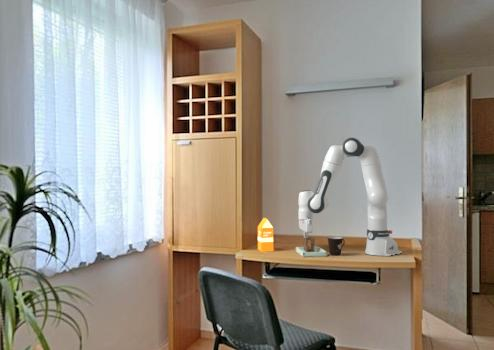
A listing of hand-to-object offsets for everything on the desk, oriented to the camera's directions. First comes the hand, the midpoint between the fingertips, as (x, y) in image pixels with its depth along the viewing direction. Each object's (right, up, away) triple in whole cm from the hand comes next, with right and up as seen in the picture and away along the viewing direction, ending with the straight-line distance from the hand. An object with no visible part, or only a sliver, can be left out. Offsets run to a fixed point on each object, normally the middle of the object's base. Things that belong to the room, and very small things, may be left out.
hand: (305, 238), depth 264 cm
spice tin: (+1, -7, -9) cm, 11 cm away
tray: (+1, -7, -13) cm, 15 cm away
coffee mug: (+16, -7, -17) cm, 25 cm away
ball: (+1, -5, -9) cm, 10 cm away
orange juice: (-25, -8, -2) cm, 26 cm away
